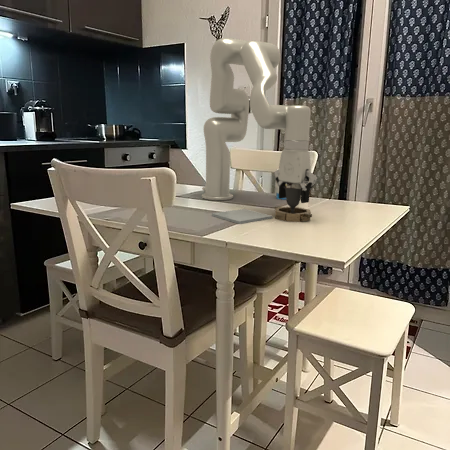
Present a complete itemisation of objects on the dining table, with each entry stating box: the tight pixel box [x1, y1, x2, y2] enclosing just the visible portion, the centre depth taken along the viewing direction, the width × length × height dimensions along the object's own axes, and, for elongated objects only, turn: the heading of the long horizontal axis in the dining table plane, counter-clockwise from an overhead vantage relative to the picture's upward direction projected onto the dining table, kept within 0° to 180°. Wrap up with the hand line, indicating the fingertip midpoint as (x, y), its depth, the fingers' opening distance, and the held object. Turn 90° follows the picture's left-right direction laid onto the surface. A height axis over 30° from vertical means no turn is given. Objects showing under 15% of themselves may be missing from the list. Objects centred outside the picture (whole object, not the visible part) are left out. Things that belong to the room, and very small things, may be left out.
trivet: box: [211, 208, 274, 225], centre depth 141 cm, size 14×14×1 cm
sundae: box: [284, 182, 303, 213], centre depth 139 cm, size 7×7×15 cm
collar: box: [274, 206, 313, 223], centre depth 141 cm, size 15×11×2 cm
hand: (293, 200), depth 140 cm, fingers open, 9 cm apart
